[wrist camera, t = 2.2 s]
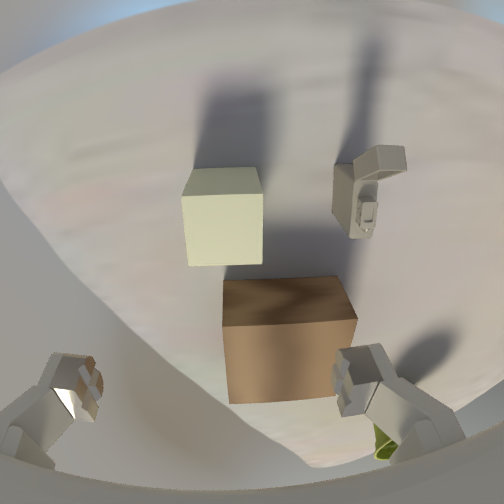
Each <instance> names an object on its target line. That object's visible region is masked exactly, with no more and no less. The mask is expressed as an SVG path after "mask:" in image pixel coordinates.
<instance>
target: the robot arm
mask: <svg viewBox="0 0 504 504" xmlns="http://www.w3.org/2000/svg"><path fill="white" fill-rule="evenodd" d="M335 359H336V363H335V364H334V365H333V366H332V370H331V383H332V388H333V391H334V392H335V393H336V394H338V395H339V397H338V400H337V404H338V407H339V411H340V414H341V417H347V416H353V415H359V414H365V415H366V416H367V417H368V418H369V419H370V420H371V421H372V422H373V423H374V424H375V425H376V426H378V427H379V428H380V429H381V430H382V431H383V432H384V433H385V434H386V435H387V436H389V437H390V438H391V439H392V440H393V441H394V442H395V443H396V444H398V445H399V446H398V447H397V449H396V450H395V451H394V453H393V454H392V455H391V457H390V458H389V461H390V464H391V466H387V467H384V468H380V469H377V470H372V471H369V472H364V473H360V474H356V475H351V476H347V477H342V478H337V479H332V480H326V481H321V482H314V483H308V484H301V485H293V486H284V487H275V488H265V489H248V490H221V491H220V490H219V491H218V490H216V491H215V490H211V491H210V490H202V491H201V490H177V489H162V488H151V487H141V486H133V485H125V484H118V483H112V482H106V481H100V480H95V479H90V478H85V477H80V476H76V475H72V474H67V473H63V472H59V471H56V470H54V468H55V462H54V461H53V460H52V459H51V458H50V457H49V456H48V455H47V454H46V452H47V451H48V449H49V448H50V447H51V446H52V445H53V444H54V443H55V442H56V441H57V439H58V438H59V437H60V436H61V435H62V434H63V433H64V432H65V431H66V430H67V428H68V427H69V426H70V425H71V424H72V423H73V422H74V420H82V421H91V422H95V419H96V415H97V412H98V408H99V406H98V404H97V402H96V401H97V400H99V399H100V398H101V397H102V392H103V379H102V376H101V373H100V372H99V371H98V370H97V369H96V368H94V366H95V361H94V359H93V357H91V356H85V355H76V354H67V353H57V352H54V353H53V354H51V356H50V358H49V361H48V362H47V365H46V367H45V369H44V371H43V374H42V376H41V378H40V380H39V382H38V385H37V386H33V387H31V388H30V389H29V390H27V391H26V392H25V393H23V394H22V395H21V396H20V397H18V398H17V399H16V400H15V401H13V402H12V403H11V404H10V405H8V406H7V407H6V408H4V409H3V410H2V411H1V412H0V504H504V421H502V422H500V423H498V424H496V425H494V426H492V427H490V428H488V429H486V430H484V431H481V432H479V433H477V434H475V435H473V436H471V437H468V438H466V436H465V434H464V432H463V430H462V428H461V426H460V424H459V422H458V420H457V418H456V416H455V414H454V412H453V410H452V409H450V408H449V407H447V406H446V405H444V404H443V403H441V402H439V401H438V400H436V399H435V398H433V397H432V396H430V395H429V394H427V393H426V392H424V391H422V390H421V389H419V388H418V387H416V386H415V385H413V384H412V383H410V382H409V381H407V380H406V379H404V378H403V377H400V378H398V376H397V374H396V372H395V370H394V368H393V366H392V364H391V362H390V360H389V358H388V356H387V354H386V352H385V350H384V348H383V346H382V345H381V344H380V343H377V344H370V345H363V346H356V347H349V348H342V349H338V350H337V351H336V353H335Z"/></svg>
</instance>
